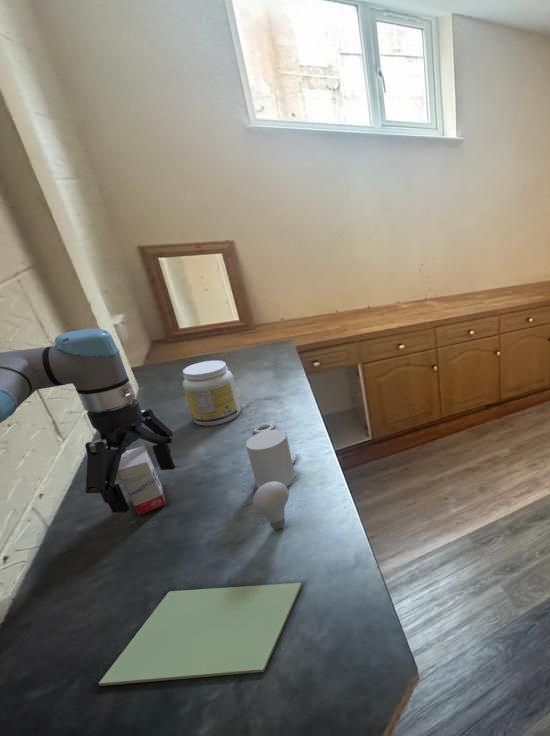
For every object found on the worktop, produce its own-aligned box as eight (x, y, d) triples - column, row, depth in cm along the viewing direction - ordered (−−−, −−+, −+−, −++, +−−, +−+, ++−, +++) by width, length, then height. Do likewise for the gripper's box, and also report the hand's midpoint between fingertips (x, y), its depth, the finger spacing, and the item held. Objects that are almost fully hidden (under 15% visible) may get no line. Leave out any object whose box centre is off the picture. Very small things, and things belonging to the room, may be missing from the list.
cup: (302, 471, 99) (293, 430, 95) (281, 494, 92) (271, 450, 87) (271, 469, 100) (262, 428, 96) (248, 491, 93) (237, 447, 88)
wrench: (277, 472, 100) (299, 463, 103) (275, 467, 99) (298, 458, 102) (252, 430, 116) (272, 424, 119) (250, 425, 115) (271, 419, 119)
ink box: (166, 505, 88) (149, 461, 83) (136, 517, 84) (117, 472, 80) (162, 485, 93) (146, 443, 89) (133, 496, 90) (115, 452, 86)
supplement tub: (203, 409, 126) (189, 361, 120) (247, 405, 130) (235, 357, 124) (187, 430, 115) (170, 377, 109) (235, 424, 119) (221, 373, 113)
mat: (99, 686, 56) (98, 683, 55) (169, 593, 69) (169, 591, 68) (264, 671, 58) (263, 669, 58) (302, 584, 71) (301, 582, 71)
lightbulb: (287, 512, 87) (278, 471, 83) (300, 526, 83) (291, 483, 79) (257, 528, 82) (245, 486, 78) (269, 544, 79) (257, 500, 75)
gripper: (75, 439, 69) (118, 531, 77) (174, 377, 92) (200, 453, 100) (27, 440, 68) (75, 534, 76) (139, 378, 91) (168, 454, 99)
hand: (146, 488), depth 88 cm, fingers open, 13 cm apart
